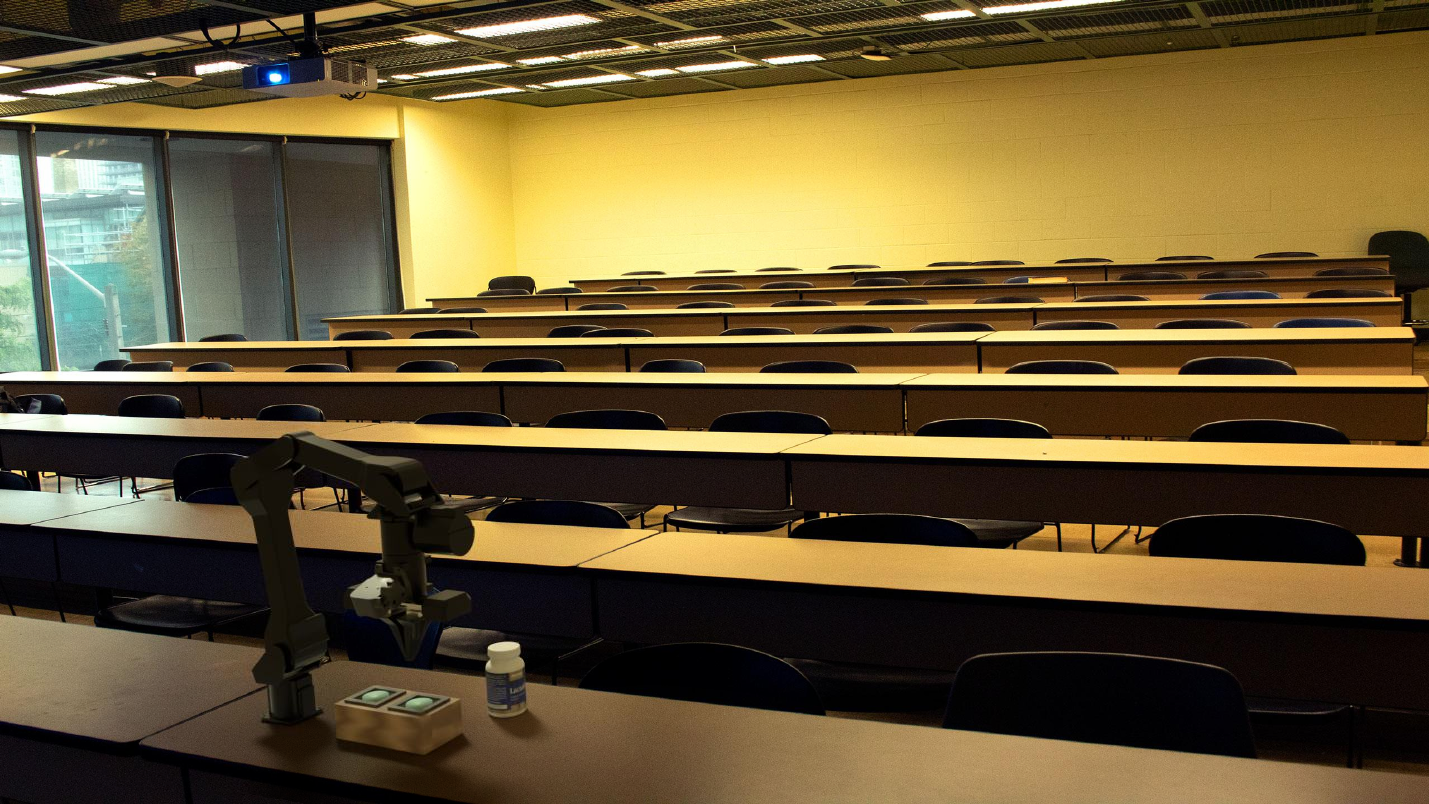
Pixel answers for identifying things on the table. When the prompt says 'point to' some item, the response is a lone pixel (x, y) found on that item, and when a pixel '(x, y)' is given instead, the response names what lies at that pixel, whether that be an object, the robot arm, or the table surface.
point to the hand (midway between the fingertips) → (410, 660)
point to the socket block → (398, 720)
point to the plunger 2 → (419, 703)
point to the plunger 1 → (375, 696)
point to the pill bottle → (505, 680)
